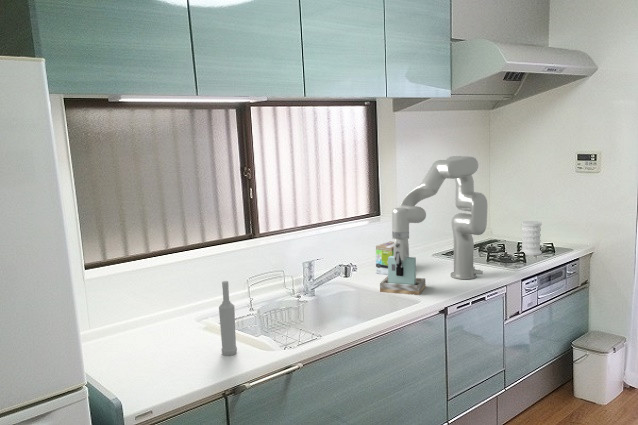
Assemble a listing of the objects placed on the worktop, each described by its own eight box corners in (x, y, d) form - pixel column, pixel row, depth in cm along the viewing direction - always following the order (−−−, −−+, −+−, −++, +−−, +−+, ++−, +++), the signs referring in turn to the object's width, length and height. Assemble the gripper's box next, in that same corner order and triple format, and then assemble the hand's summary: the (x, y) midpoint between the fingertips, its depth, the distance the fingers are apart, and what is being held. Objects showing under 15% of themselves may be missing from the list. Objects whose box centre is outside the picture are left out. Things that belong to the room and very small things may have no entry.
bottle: (237, 355, 186) (233, 283, 182) (222, 357, 185) (217, 284, 181) (236, 349, 191) (232, 279, 187) (221, 351, 190) (217, 280, 186)
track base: (425, 286, 259) (425, 278, 258) (418, 295, 246) (418, 286, 245) (388, 283, 266) (388, 275, 265) (380, 291, 253) (379, 283, 252)
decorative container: (543, 251, 321) (543, 221, 319) (539, 256, 312) (540, 224, 309) (522, 250, 327) (522, 220, 325) (518, 254, 317) (519, 223, 315)
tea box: (392, 276, 280) (391, 247, 278) (375, 273, 286) (374, 245, 284) (406, 269, 292) (406, 242, 289) (390, 267, 298) (389, 240, 296)
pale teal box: (415, 283, 252) (415, 257, 250) (414, 285, 248) (413, 259, 247) (390, 281, 256) (390, 255, 255) (388, 283, 253) (387, 257, 251)
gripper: (404, 238, 240) (404, 279, 243) (413, 232, 256) (413, 270, 258) (387, 238, 243) (388, 278, 246) (397, 231, 258) (397, 269, 261)
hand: (401, 274), depth 252 cm, fingers closed on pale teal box, 3 cm apart
